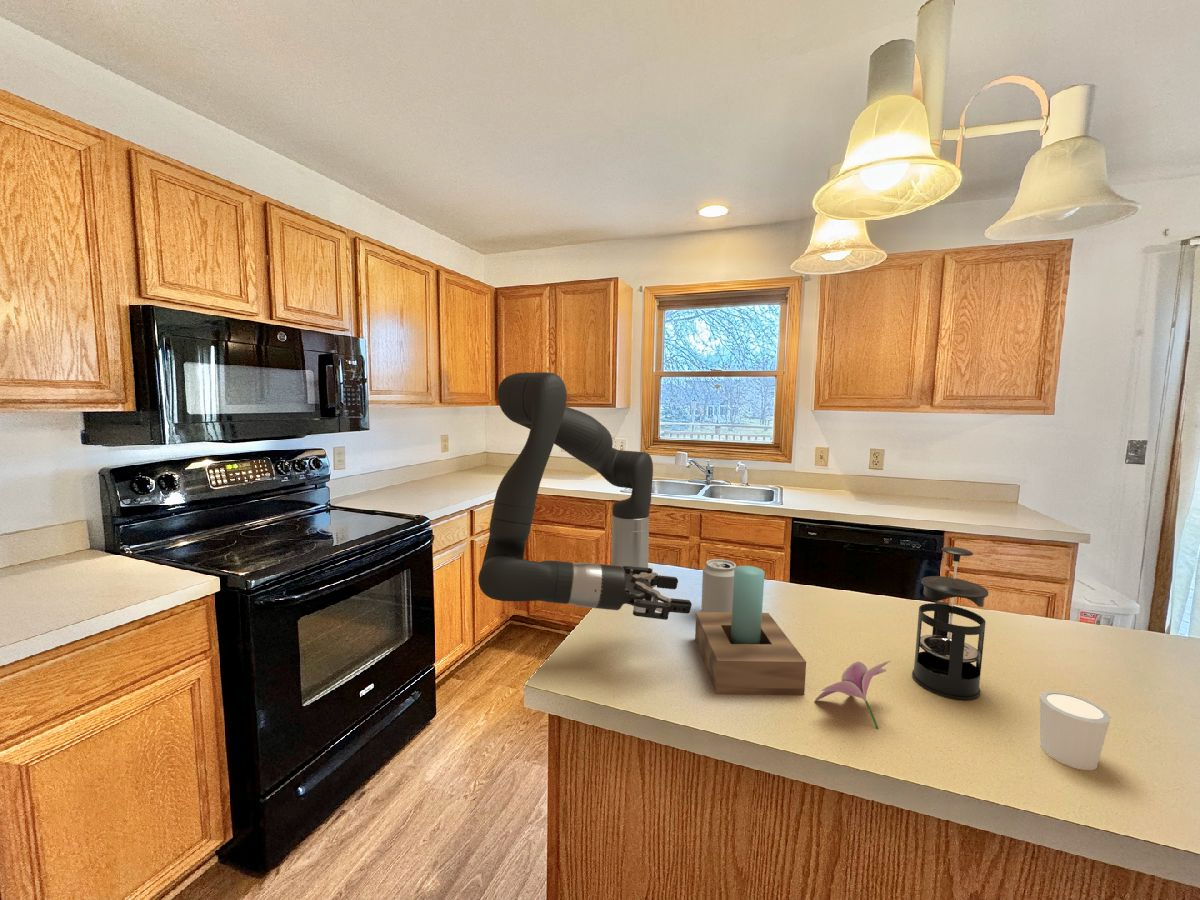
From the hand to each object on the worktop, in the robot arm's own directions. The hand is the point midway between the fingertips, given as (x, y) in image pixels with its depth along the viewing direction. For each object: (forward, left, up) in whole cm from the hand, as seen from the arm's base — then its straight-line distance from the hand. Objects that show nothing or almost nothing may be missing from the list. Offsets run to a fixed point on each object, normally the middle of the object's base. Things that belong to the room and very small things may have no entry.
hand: (683, 594), depth 91 cm
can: (-16, +11, -12) cm, 22 cm away
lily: (+16, +23, -12) cm, 31 cm away
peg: (+3, +11, -10) cm, 15 cm away
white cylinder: (+25, +48, -12) cm, 55 cm away
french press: (+8, +43, -12) cm, 45 cm away
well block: (+3, +11, -11) cm, 16 cm away
